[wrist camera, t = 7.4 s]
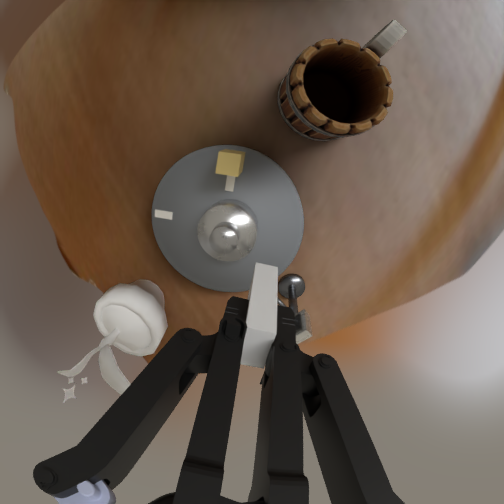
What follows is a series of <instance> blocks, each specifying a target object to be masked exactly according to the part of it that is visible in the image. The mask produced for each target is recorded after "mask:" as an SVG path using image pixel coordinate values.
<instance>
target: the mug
mask: <svg viewBox="0 0 504 504" xmlns="http://www.w3.org/2000/svg"><path fill="white" fill-rule="evenodd" d="M406 32H407V30H406V29H405V28H403V27H402V26H401V25H400V24H399V23H398V22H397V21H396V20H392V21H391V22H390V23H389V24H388V25H386V26H385V27H384V28H383V29H382V30H381V31H380V32H379V33H377V34H376V35H375V36H374V37H373V38H372V39H371V40H370V41H369V42H368V43H367V44H366V45H365V46H364V47H363V48H362V49H361V47H360V45H359V43H357V42H354V41H351V40H347V39H341V40H340V41H339V42H337V41H336V40H335V39H324V40H321V41H319V42H316V44H315V45H312V46H309V47H308V48H306V49H305V50H304V51H303V52H301V53H300V54H299V55H298V56H297V58H296V59H295V60H294V62H293V63H292V65H291V67H290V68H289V71H288V73H287V74H286V76H285V77H284V79H283V80H282V82H281V84H280V87H279V91H278V106H279V110H280V114H281V115H282V117H283V119H284V121H285V122H286V124H287V125H288V126H289V127H290V128H291V129H292V130H293V131H295V132H296V133H298V134H299V135H301V136H303V137H305V138H308V139H311V140H316V141H329V140H334V139H338V138H341V137H348V136H355V135H359V134H362V133H364V132H366V131H368V130H370V129H371V128H373V127H374V126H375V125H377V124H379V123H380V122H381V121H382V120H384V118H385V116H386V115H387V113H388V112H387V109H386V107H389V106H391V103H392V100H393V90H392V89H391V88H390V87H389V85H390V84H391V83H392V82H391V76H390V74H389V72H388V69H387V68H386V67H385V66H382V65H380V59H379V58H381V57H382V56H383V55H384V54H385V53H386V52H387V51H389V50H390V49H391V48H392V47H393V46H394V45H395V44H396V43H397V42H398V41H399V40H400V39H401V38H402V37H403V35H404V34H405V33H406Z"/></svg>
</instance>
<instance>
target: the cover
mask: <svg viewBox="0 0 504 504" xmlns="http://www.w3.org/2000/svg"><path fill="white" fill-rule="evenodd" d="M257 232H258V221H257V217H256V215H255V213H254V212H253V210H252V209H251V208H250V207H249V206H248V205H246V204H245V203H243V202H241V201H239V200H235V199H224V200H220V201H218V202H216V203H214V204H213V205H212V206H211V207H210V208H209V209H208V210H207V211H206V212H205V214H204V215H203V216H202V218H201V219H200V221H199V224H198V228H197V235H198V240H199V243H200V245H201V246H202V248H203V249H204V250H205V252H206V253H208V254H209V255H210V256H212V257H213V258H215V259H218V260H221V261H228V262H230V261H237V260H240V259H242V258H244V257H245V256H247V255H248V254H249V253H250V252H251V251H252V249H253V247H254V245H255V242H256V238H257Z"/></svg>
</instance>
